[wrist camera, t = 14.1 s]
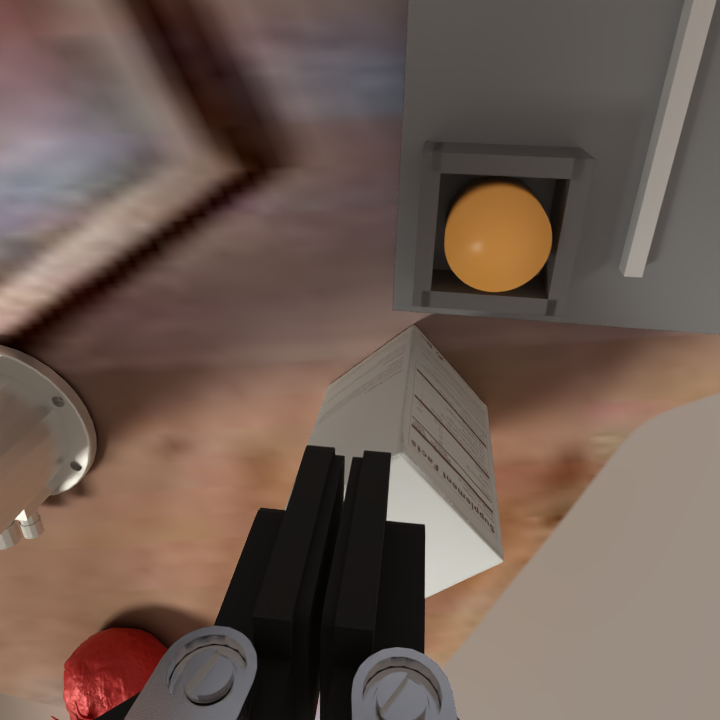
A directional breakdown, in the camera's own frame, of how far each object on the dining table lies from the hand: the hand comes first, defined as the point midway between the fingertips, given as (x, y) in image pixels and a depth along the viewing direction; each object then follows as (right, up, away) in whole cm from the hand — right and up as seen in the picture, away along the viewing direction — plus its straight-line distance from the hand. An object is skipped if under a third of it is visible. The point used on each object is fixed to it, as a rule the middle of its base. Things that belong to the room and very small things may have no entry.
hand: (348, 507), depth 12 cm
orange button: (+6, +9, +15) cm, 19 cm away
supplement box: (+3, +1, +25) cm, 25 cm away
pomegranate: (-20, -24, +42) cm, 52 cm away
